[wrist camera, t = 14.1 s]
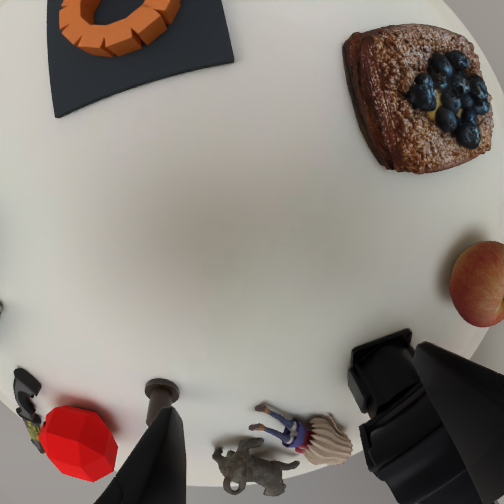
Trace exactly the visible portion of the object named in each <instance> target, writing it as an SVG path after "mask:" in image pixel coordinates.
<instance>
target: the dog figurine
mask: <svg viewBox="0 0 504 504" xmlns="http://www.w3.org/2000/svg"><path fill="white" fill-rule="evenodd" d="M263 442H264V440H263V439H257V440H255V439H251V440H243V441H240V442H239V443H238V449H237V451H236V453H235V452H234V451H232V450H230V451H228V452H227V456H226V457H223V456H222V455H221V453H223V451H222V449H215V451H214V454H213V455H212V458H213V459H214V460H215V461H216V462H217V463H218V465H219V469H220V471H221V473H222V474H223V476H224V477H225V479H224V482H223V487H224V490H225V491H226V492H228V493H229V494H232V495H236V494H239V493H240V492H242V491H243V490H244V489H245V486H246V482H256V483H258V484H260V485H262V486H263V487H265V490H264V493H263V494H264V495H266V496H279V495H281V494H282V493H284V492H285V490H284V489H285V488H286V485H285V484H284V483H283V479H282V470H290V469H295V468H296V467H297V466H298V465H299V464H300V462H299V461H294V462H292V463H290V464H287V463H283V462H280V461H275V460H273V461H268V460H265V459H261V458H257V457H254V456H251V455H250V454H249V451H248V449H250V448H256V447H260V446H261V445H262V444H263ZM231 481H233V482H235V483H238V484H239V487H238V489H237V490H236V491H234V490H232V489H231V488H230V483H231Z"/></svg>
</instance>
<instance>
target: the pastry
mask: <svg viewBox="0 0 504 504" xmlns="http://www.w3.org/2000/svg"><path fill="white" fill-rule="evenodd" d="M343 58H344V66H345V73H346V79H347V85H348V89H349V92H350V95H351V99H352V103H353V107H354V110H355V114H356V118H357V120H358V124H359V127H360V130H361V132H362V134H363V136H364V138H365V140H366V142H367V144H368V146H369V148H370V149H371V151H372V152H373V154H374V156H375V157H376V159H377V160H378V162H379V164H381V165H382V166H385V168H386V169H387V170H388V169H390V170H396V171H397V172H404V171H406V172H412V173H415V174H417V173H418V174H424V173H433V172H438V171H442V170H446V169H449V168H452V167H455V166H459V165H461V164H463V163H466V162H468V161H470V160H472V159H474V158H476V157H477V156H479V155H480V154H484V153H485V152H486V151H489V150H490V149H491V137H492V132H493V131H492V130H491V129H492V128H493V127H494V124H493V119H492V116H493V112H492V107H491V104H490V101H491V99H492V96H491V95H490V94H489V93H488V92H487V88H486V86H485V82H484V80H483V78H482V74H481V73H482V72H481V71H480V66H479V65H480V63H479V62H478V61H479V57H478V55H477V54H475V53H474V46H473V44H472V43H471V42H468V40H467V39H466V38H465V37H464V36H462V35H459V34H457V33H454V32H451V31H449V30H446V29H443V28H439V27H436V26H430V25H424V24H402V25H389V26H387V27H381V28H378V29H375V30H371V31H367V32H364V33H359V32H355V33H353V34H352V35H351V37H350V38H349V39H348V40H347V41H345V43H344V45H343Z"/></svg>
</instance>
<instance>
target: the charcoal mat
mask: <svg viewBox="0 0 504 504" xmlns="http://www.w3.org/2000/svg"><path fill="white" fill-rule="evenodd" d="M63 1H64V0H47V48H48V64H49V75H50V85H51V93H52V100H53V107H54V113H55V118H60V117H62V116H64V115H66V114H69V113H71V112H73V111H75V110H77V109H79V108H82V107H84V106H86V105H89V104H91V103H93V102H96V101H98V100H101V99H103V98H106V97H108V96H111V95H114V94H116V93H119V92H122V91H125V90H128V89H130V88H133V87H136V86H139V85H142V84H146V83H149V82H152V81H155V80H159V79H162V78H166V77H169V76H173V75H177V74H181V73H185V72H189V71H193V70H198V69H202V68H207V67H212V66H217V65H222V64H227V63H233V62H234V56H233V51H232V47H231V42H230V38H229V33H228V29H227V24H226V20H225V15H224V11H223V7H222V2H221V0H181V1H180V5H181V6H180V8H179V10H178V12H177V14H176V16H175V18H174V20H173V22H172V24H171V25H168V24H165V25H166V27H167V30H166V31H165V32H163V33H162V34H161V35H160V36H158V37H157V38H156V39H155V40H154V41H152V42H151V43H150V44H149V45H146V44H145V43H144V42H143V41H142V40H141V43H142V49H139V50H136V51H133V52H130V53H128V54H125V55H122V56H119V57H118V56H117V55H116V54H114V56H113V57H104V56H95V55H92V54H90V53H87V52H85V51H83V50H82V49H80V48H78V47H76V46H75V45H73V44H72V43H71V42H70V41H69V40H68V39H67V38H66V37H65V36H64V35H63V34H62V32H63V31H62V30H60V25H59V11H60V10H61V9H63V7H62V6H61V5H62V3H63ZM144 1H145V0H101V1H100V3H99V5H98V7H97V9H96V11H95V13H94V25H109V24H112V23H114V22H117V21H119V20H122V19H125V18H127V17H128V16H129V15H130V14H132V13H133V12H134V11H135V10H137V9H138V8H139V7H140V6H142V5H143V3H144Z"/></svg>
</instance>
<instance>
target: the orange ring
mask: <svg viewBox="0 0 504 504" xmlns="http://www.w3.org/2000/svg"><path fill="white" fill-rule="evenodd" d="M100 1H101V0H64V1H63V3H62V5H61V6H62V7H63V9H61V10H60V11H59V25H60V30H62V31H63V32H62V34H63V35H64V36H65V37H66V38H67V39H68V40H69V41H70V42H71V43H72V44H73V45H75V46H76V47H78V48H80V49H82V50H83V51H85V52H87V53H90V54H92V55H95V56H104V57H113V56H114V54H116V55H117V56H118V57H119V56H122V55H125V54H128V53H130V52H133V51H136V50H139V49H142V43H141V40H142V41H143V42H144V43H145V44H146V45H149V44H150V43H151V42H152V41H154V40H155V39H156V38H157V37H158V36H160V35H161V34H162V33H163V32H165V31H166V30H167V27H166V25H165V24H168V25H171V24H172V22H173V20H174V18H175V16H176V14H177V12H178V10H179V8H180V6H181V5H180V1H181V0H145V1H144V3H143V5H142V6H140V7H139V8H138V9H137V10H135V11H134V12H133V13H132V14H130V15H129V16H128V17H127V18H125V19H122V20H119V21H117V22H114V23H112V24H109V25H94V13H95V11H96V9H97V7H98V5H99V3H100Z"/></svg>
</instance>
